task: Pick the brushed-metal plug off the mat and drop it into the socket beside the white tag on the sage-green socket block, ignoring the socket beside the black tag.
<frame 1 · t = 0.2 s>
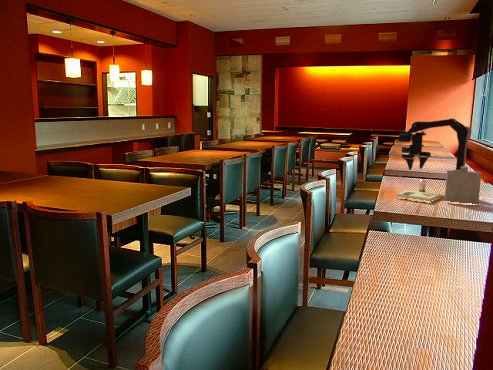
hand: (415, 169, 250), 14 cm above the table, tool pointing down, fingers open, 9 cm apart
socket block: (417, 199, 232), on the table
plug: (421, 193, 245), resting on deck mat
grey upright panel: (460, 204, 221), on the table
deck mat: (421, 194, 245), on the table
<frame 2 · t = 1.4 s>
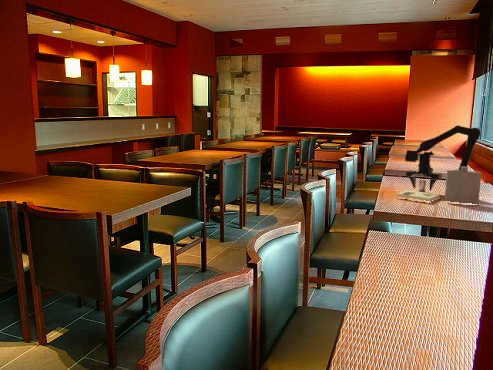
hand: (422, 189, 245), 3 cm above the table, tool pointing down, fingers open, 9 cm apart
nothing on the table moved.
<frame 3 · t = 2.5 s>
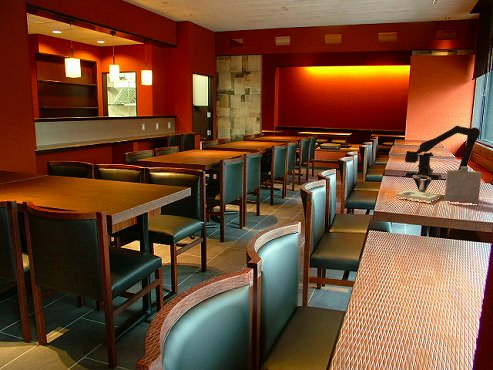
hand: (422, 190, 245), 3 cm above the table, tool pointing down, fingers closed on plug, 3 cm apart
plug: (421, 193, 245), resting on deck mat, touching gripper
everything else where it was.
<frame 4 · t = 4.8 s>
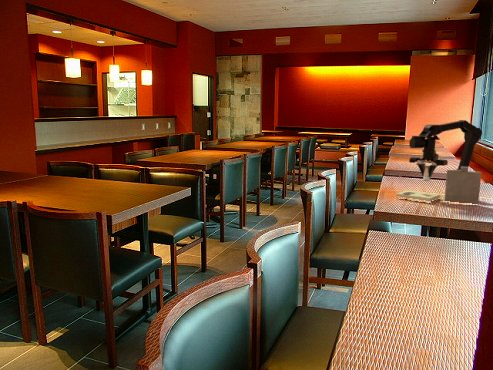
hand: (426, 176, 230), 13 cm above the table, tool pointing down, fingers closed on plug, 3 cm apart
plug: (426, 180, 230), point 11 cm above the table, touching gripper
everything else where it was.
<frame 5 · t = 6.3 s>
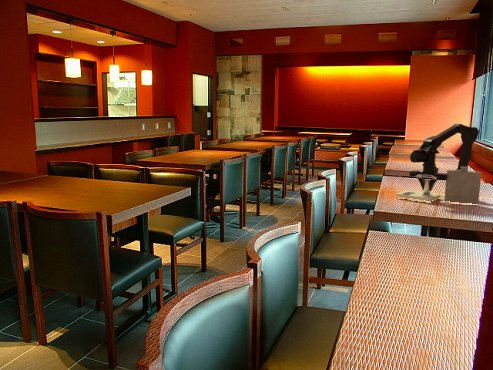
hand: (427, 190, 228), 6 cm above the table, tool pointing down, fingers closed on plug, 3 cm apart
plug: (426, 194, 228), point 4 cm above the table, touching gripper
everything else where it was.
when the fingers open (4 cm above the table, at t = 7.3 s): plug drops 2 cm, resting in socket block.
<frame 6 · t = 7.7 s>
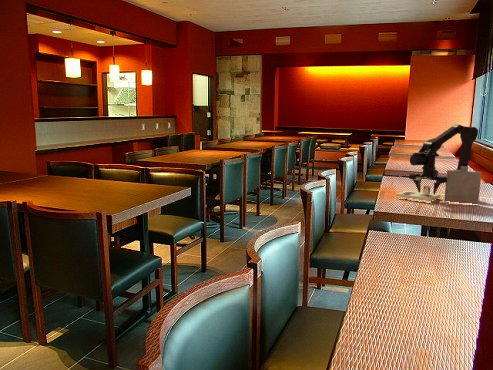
hand: (426, 193, 228), 4 cm above the table, tool pointing down, fingers open, 8 cm apart
plug: (426, 200, 229), resting in socket block
everything else where it was.
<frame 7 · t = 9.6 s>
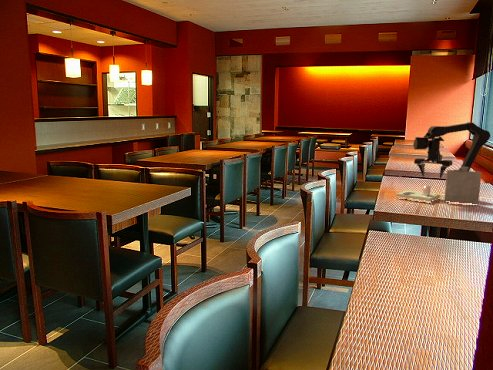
hand: (432, 177, 234), 12 cm above the table, tool pointing down, fingers open, 9 cm apart
nothing on the table moved.
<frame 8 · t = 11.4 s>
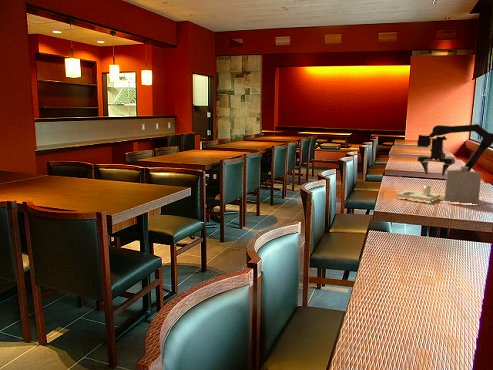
hand: (434, 175, 240), 12 cm above the table, tool pointing down, fingers open, 9 cm apart
nothing on the table moved.
at the end: plug 0.0 cm from the target spot, resting in socket block; plug tilted 0°; the gripper is holding nothing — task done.
